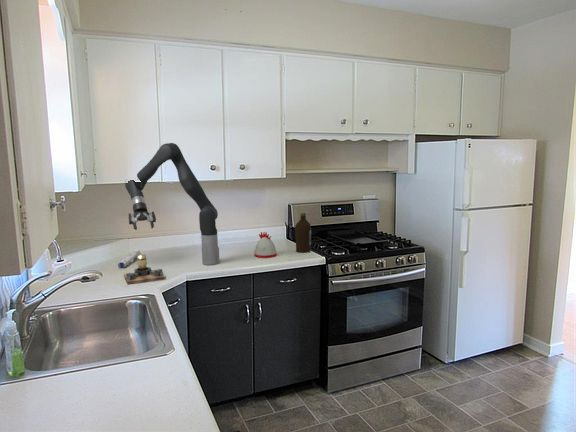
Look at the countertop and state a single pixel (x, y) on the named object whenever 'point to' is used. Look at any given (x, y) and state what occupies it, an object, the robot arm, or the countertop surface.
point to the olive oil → (303, 235)
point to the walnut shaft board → (144, 279)
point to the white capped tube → (129, 258)
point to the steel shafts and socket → (144, 273)
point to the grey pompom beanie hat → (265, 247)
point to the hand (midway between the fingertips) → (144, 228)
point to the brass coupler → (141, 262)
